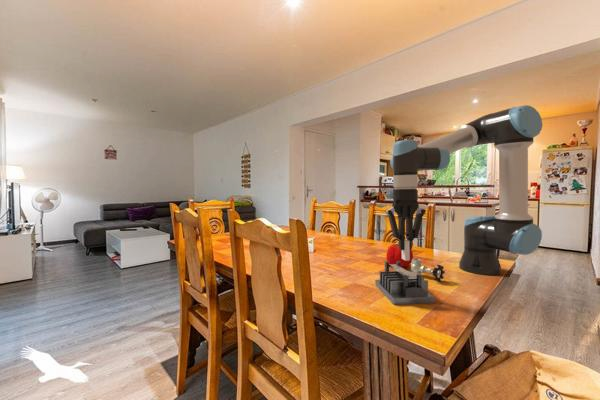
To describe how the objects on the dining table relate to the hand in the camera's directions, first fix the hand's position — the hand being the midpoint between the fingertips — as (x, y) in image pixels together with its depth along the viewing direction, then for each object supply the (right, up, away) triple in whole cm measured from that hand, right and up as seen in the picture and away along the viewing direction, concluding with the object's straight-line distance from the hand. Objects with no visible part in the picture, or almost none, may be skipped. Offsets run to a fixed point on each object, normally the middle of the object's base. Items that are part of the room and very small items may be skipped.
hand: (405, 259), depth 93 cm
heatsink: (0, -12, +2) cm, 12 cm away
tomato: (+10, -11, +33) cm, 36 cm away
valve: (+14, -11, +18) cm, 25 cm away
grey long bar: (0, -5, +2) cm, 5 cm away
